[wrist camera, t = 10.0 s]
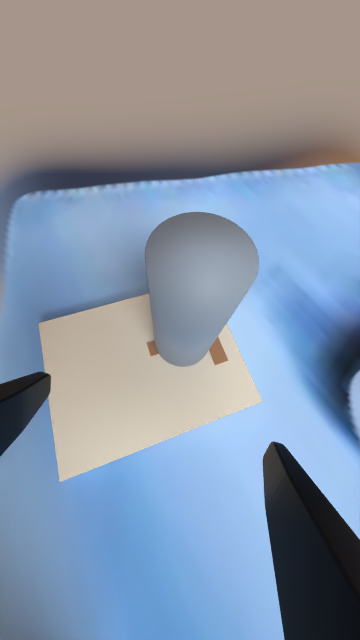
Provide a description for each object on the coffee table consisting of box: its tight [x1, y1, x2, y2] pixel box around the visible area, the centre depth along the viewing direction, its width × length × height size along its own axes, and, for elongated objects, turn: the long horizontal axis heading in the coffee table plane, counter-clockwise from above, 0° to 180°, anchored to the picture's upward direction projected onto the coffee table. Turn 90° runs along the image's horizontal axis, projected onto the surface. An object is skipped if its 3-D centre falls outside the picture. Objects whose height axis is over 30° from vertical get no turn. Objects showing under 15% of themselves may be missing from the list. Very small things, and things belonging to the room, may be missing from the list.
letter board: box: [38, 293, 262, 482], centre depth 22 cm, size 18×14×1 cm
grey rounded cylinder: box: [145, 212, 259, 367], centre depth 17 cm, size 6×6×13 cm
